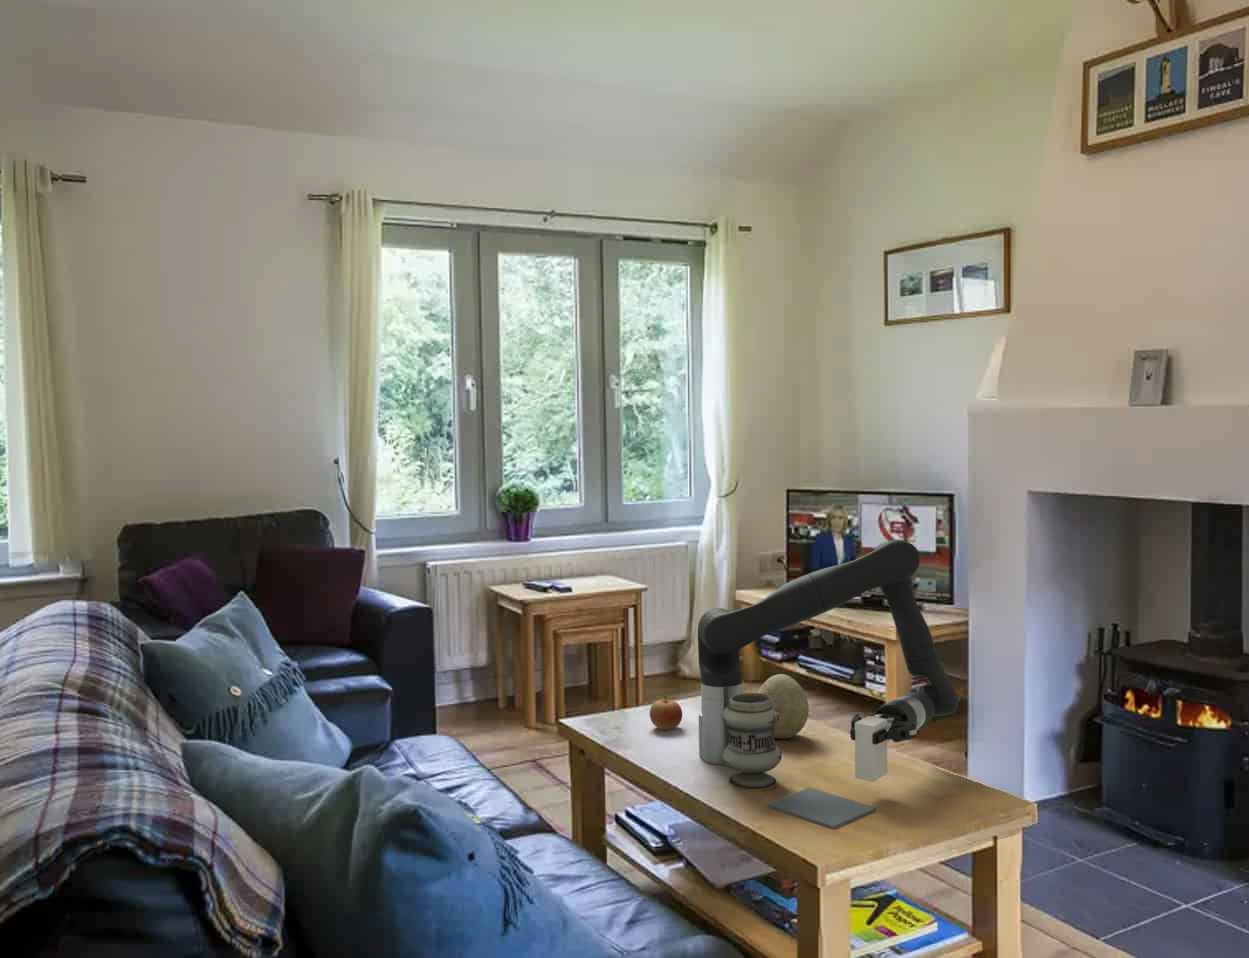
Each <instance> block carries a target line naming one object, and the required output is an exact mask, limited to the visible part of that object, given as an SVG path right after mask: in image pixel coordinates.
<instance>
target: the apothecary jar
mask: <svg viewBox="0 0 1249 958" xmlns="http://www.w3.org/2000/svg"><path fill="white" fill-rule="evenodd" d="M729 702H730V703H729V706H728V707H726V708H725V710H724V711H723V713H722V719H723V721H724V723H725V724H726V725H727V726H728V741H729V742H728V746H727V747H726V748H725V750H724V752H723V759H724V761H725V763H726V764H725V765H726V766H727V767H729V768H730V769H731V770H734V771H736V772H737V773H735V774H733V775H731V777H730V778H729V779H728V783H729V785H731V786H732V787H733V788H735V789H737V790H738V789H739V790H741V791H742V790H743V791H749V792H752V791H753V792H760V791H766V790H770V789H772V788H774V787H775V786H776V785H777V780H776V778H775V777H774V776H773V775H770V774H768V773H767V772H769V771H771V770H773V769H774V768H776V767H777V766H778V765H779V764H780V763H781V761H782V757H783V756H782V751H781V750H780V748H779V747H778V746H777V745H776V741H775V740H776V738H775V737H774V725H776V724H777V722H778V721H779V712H778V710H777V709H776V708H775V707H774V706H772V703H771V699H770V696H768V695H766V694H762V693H758V692H743V693H740V694H736V695H733V696H731V697H730V701H729Z"/></svg>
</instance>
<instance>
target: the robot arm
mask: <svg viewBox="0 0 1249 958" xmlns="http://www.w3.org/2000/svg"><path fill="white" fill-rule="evenodd" d="M920 563H921V554H920V552H919V550H918V548H917V547H916V546H915V545H914V544H913V543H911V542H909V541H906V540H903V539H892V540H888V541H885V542H883V543H881V544H879V545H877V546H876V548H874V550H873V551H871V552H869V553H866V554H864V555H863V556H861V557H858V558H857V559H854V560H851V561H848V562H844V563H840V564H837V565H833V566H828V567H825V568H821V569H819V570H815V571H813V572H810V573H807V574H804V575H801V576H800V577H797V578H794V579H792V580H790V581H788V582H786V583H784V584H783V585H781V586H779V587H778V588H777V589H776V590H774V591H772V592H771V593H770V594H769V595H768V596H766V597H765V598H763V599H761V600H760V601H758V602H756V603H753V604H751V605H749V606H746V607H743V608H739V609H737V610H733V611H730V610H728V609H726V608H722V607H721V608H720V607H714V608H711V609H709V610H707V611H706V612H704V613H703V615H702V616H701V617H700V619H699V621H698V626H697V651H698V667H699V672H700V689H701V691H700V693H701V694H700V695H701V713H699V714H698V751H699V753H698V754H699V755H698V756H699V758H702V759H703V761H704V762H707V763H710V764H715V765H727V764H726V763H725V761H724V759H723V752H724V750H725V748H726V747H727V746H728V742H729V741H728V726H727V725H726V724H725V723H724V721H723V719H722V713H723V711H724V710H725V708H726V707H728V706H729V703H730V702H729V701H730V697H731V696H733V695H736V694H740V693H744V685H743V683H744V681H743V680H744V678H743V677H744V676H743V668H742V665H741V660H740V650H741V649H743V648H744V647H746V646H748V645H750V644H752V643H753V642H756V641H757V640H759V639H761V638H763V637H764V636H767V635H769V634H772V633H774V632H776V631H777V632H778V631H780V630H782V629H785V628H789V627H792V626H795V625H796V624H799V623H801V622H804V621H807V620H811V619H813V618H815V617H817V616H820V615H822V614H825V613H827V612H829V611H831V610H834V609H835V608H838V607H840V606H842V605H843V604H846V603H848V602H849V601H852V600H853V599H854V598H857V597H858V596H860V595H862V594H864V593H867V592H868V591H871V590H874V589H877V588H881V591H882V592H883V595H884V597H885V599H886V602H887V605H888V608H889V611H890V612H891V616H892V620H893V622H894V626H895V628H896V629H895V630H896V633H897V636H898V639H899V643H900V646H901V651H902V656H903V658H904V661H905V665H906V670H907V671H908V673H909V674H910V675H912V676H920V677H921V676H922V677H925V678H927V679H928V680H929V682H930V683H929V684H922V685H917V686H914V687H912V688H909V690H908V691H907V693H906V694H905V695H903V696H900V697H897V698H895V699H892V700H891V701H888V702H886V703H885V704H882V705H881V706H879V708H878V709H877V711H876V712H875V713H874V715H871V716H872V717H877V718H883V719H887V724H886V726H885V727H884V728H883V729H880V730H879V731H877V732H875V733H873V735H872V743H873V744H875V745H877V744H879V743H882V742H883V741H886V742H887V743H888V742H890V741H892V742H893V743H901V742H904V741H907V740H912V739H916V738H917V731H918V730H919V729H920V728H921V727H922V726H924V725H926V724H927V723H929V722H930V721H931V720H932V718H933V717H941V716H948V715H952V714H954V713H955V712H956V710H957V709H958V706H959V696H958V694H957V690H956V689H955V686H954V685H953V684H952V682H951V680H950V678H949V677H948V676H947V673H946V671H945V670H944V668H943V666H942V664H941V662H940V660H939V657H938V656H939V655H938V654H937V650H936V646H935V643H934V639H933V636H932V634H931V631H930V628H929V626H928V624H927V621H926V620H925V618H924V616H923V614H922V611H921V610H920V608H919V605H918V603H917V600H916V597H915V594H914V591H913V586H912V581H911V578H912V577H913V576H914V574H915V573H916V572H917V571H918V568H919V567H920ZM861 719H863V717H862V716H861V714H859V713H855V714H854V715H853V717H852V719H851V720H850V721H851V722H850V730H849V734H850V735H849V737H850V739H851V741H855V722H857V721H859V720H861Z"/></svg>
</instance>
